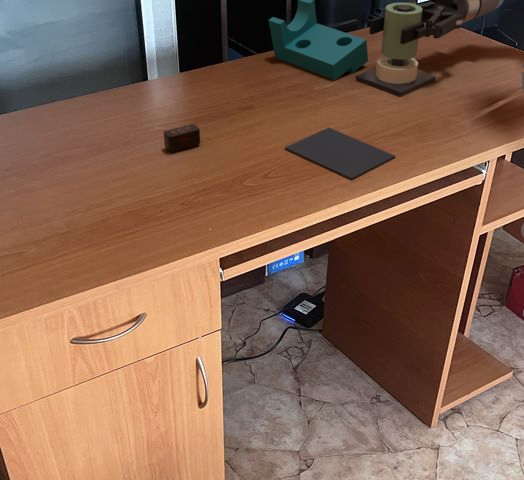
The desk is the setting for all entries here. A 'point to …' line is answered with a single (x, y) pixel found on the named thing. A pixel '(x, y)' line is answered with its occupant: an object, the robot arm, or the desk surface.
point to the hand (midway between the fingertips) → (386, 32)
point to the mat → (340, 153)
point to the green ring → (399, 31)
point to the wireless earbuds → (182, 138)
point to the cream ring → (396, 71)
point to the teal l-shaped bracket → (316, 44)
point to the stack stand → (396, 89)
